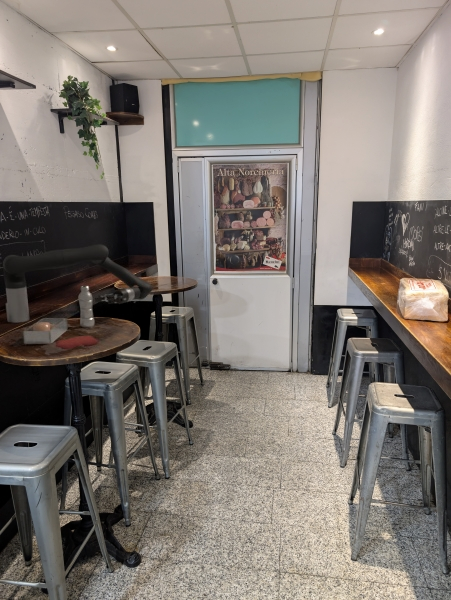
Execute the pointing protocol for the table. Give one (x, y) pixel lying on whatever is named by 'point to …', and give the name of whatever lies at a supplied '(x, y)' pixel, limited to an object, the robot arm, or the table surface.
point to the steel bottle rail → (46, 337)
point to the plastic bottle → (86, 307)
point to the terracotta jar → (41, 326)
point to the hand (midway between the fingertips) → (102, 300)
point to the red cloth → (76, 342)
